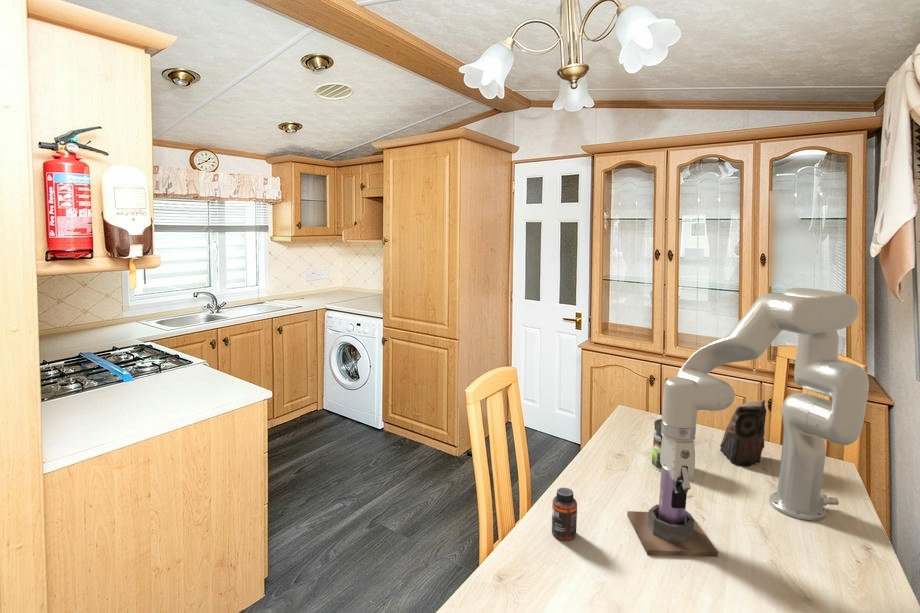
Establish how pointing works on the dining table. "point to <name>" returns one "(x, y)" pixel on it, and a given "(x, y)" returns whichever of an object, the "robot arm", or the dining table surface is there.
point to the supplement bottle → (564, 514)
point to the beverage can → (669, 501)
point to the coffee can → (657, 445)
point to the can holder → (670, 535)
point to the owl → (745, 434)
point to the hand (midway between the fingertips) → (672, 499)
